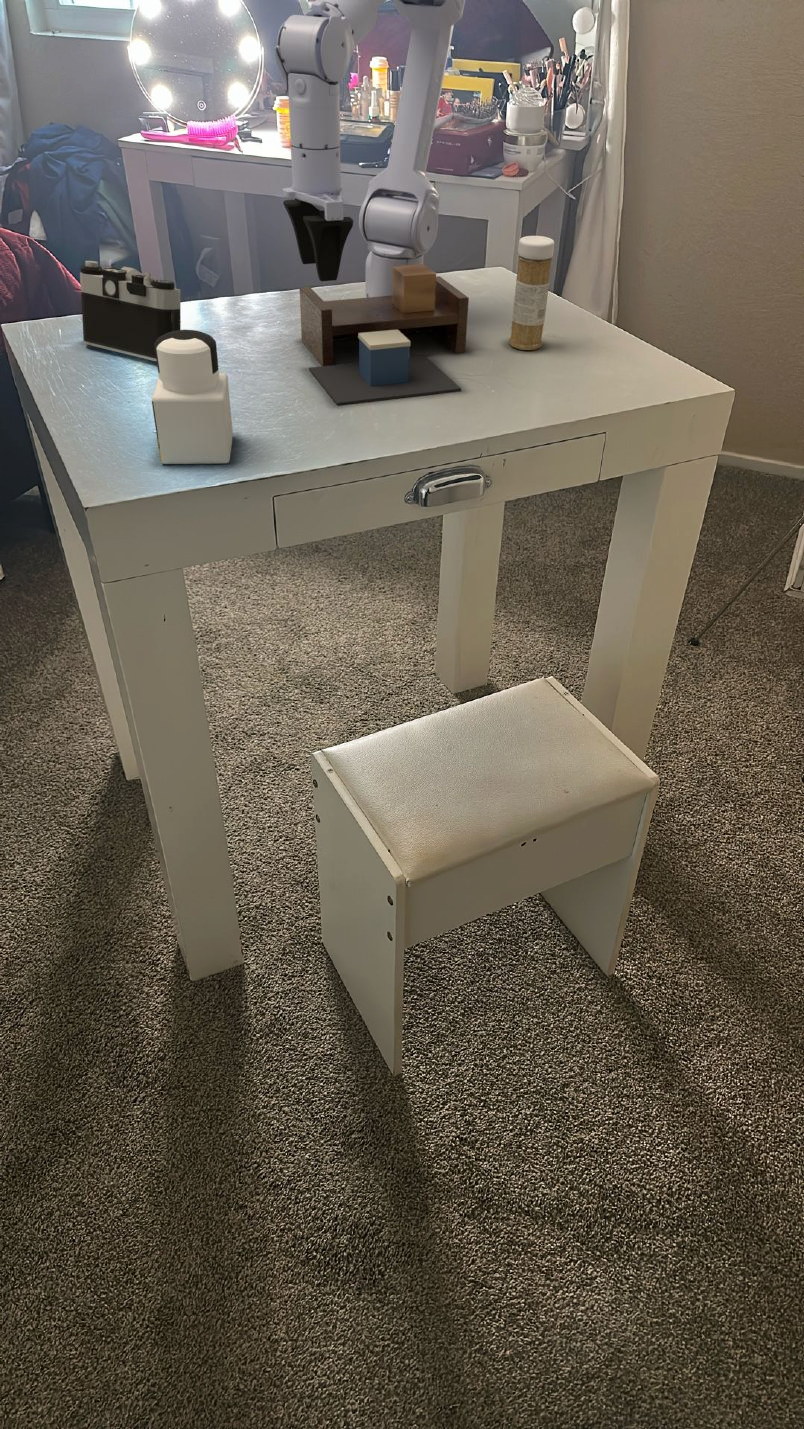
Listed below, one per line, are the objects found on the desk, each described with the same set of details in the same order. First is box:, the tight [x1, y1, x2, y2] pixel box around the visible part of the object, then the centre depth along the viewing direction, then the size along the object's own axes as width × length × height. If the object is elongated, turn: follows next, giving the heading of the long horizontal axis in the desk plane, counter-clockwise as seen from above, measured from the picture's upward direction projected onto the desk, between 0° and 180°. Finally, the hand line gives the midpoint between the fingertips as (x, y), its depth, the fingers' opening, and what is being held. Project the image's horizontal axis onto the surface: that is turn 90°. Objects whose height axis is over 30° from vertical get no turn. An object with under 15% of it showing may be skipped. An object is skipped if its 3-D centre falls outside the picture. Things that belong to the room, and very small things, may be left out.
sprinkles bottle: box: [509, 235, 555, 351], centre depth 124 cm, size 5×5×13 cm
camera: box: [79, 260, 182, 362], centre depth 121 cm, size 15×11×10 cm
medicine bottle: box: [151, 329, 234, 465], centre depth 96 cm, size 7×7×12 cm
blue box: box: [357, 330, 412, 386], centre depth 115 cm, size 5×5×5 cm
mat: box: [308, 355, 462, 406], centre depth 117 cm, size 12×16×1 cm
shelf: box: [299, 276, 470, 366], centre depth 124 cm, size 10×20×7 cm, turn 111°
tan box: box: [392, 263, 437, 313], centre depth 122 cm, size 4×4×5 cm
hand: (319, 271), depth 116 cm, fingers open, 7 cm apart
